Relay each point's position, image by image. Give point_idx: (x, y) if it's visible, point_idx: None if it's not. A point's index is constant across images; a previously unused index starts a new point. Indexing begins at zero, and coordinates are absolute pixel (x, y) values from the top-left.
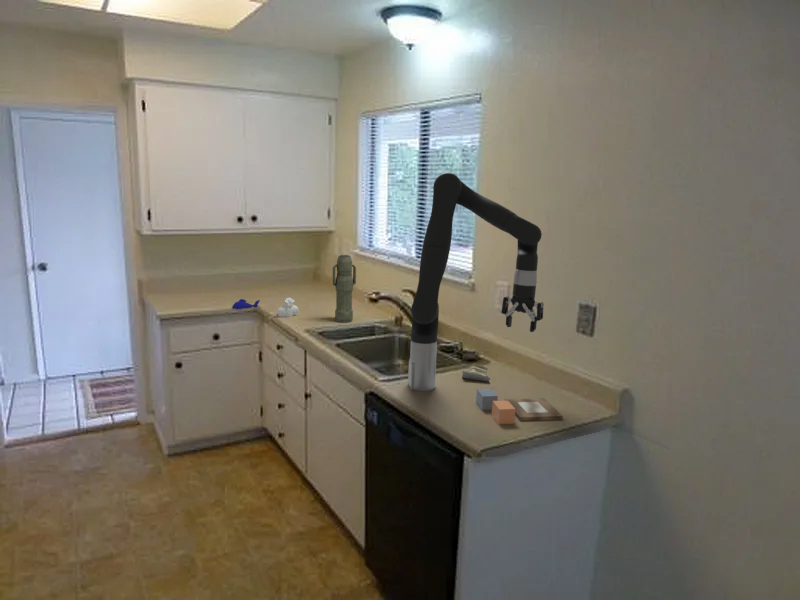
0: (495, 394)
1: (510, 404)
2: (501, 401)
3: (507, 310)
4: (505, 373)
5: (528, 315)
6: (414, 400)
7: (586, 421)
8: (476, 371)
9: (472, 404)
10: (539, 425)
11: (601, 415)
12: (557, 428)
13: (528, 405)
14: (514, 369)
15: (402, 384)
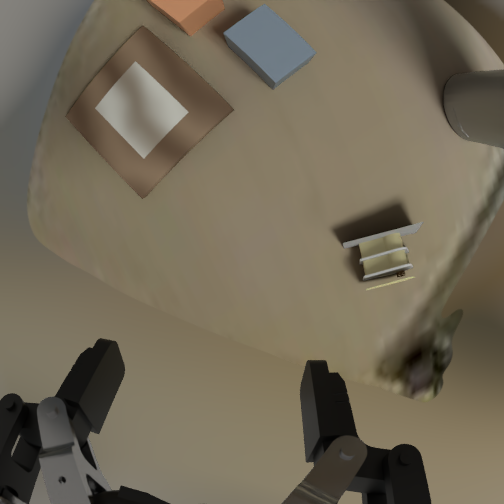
0: (236, 40)
1: (160, 4)
2: (193, 4)
3: (363, 494)
4: (323, 335)
5: (69, 447)
6: (435, 16)
7: (37, 149)
8: (391, 257)
9: None
10: (100, 43)
11: (32, 206)
12: (66, 63)
13: (152, 111)
14: None
15: None
